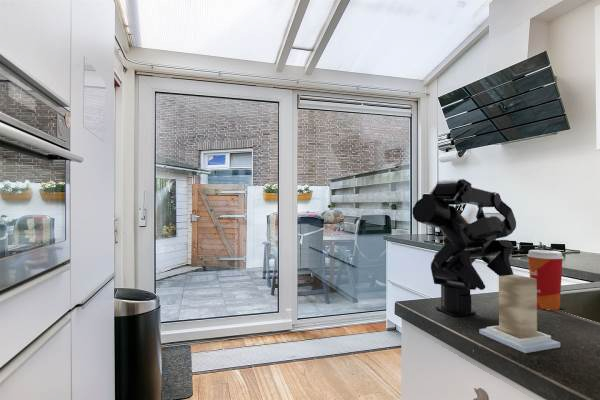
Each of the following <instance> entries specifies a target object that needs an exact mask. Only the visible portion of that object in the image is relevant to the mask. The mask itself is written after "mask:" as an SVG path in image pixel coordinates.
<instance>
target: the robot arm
mask: <svg viewBox="0 0 600 400" xmlns="http://www.w3.org/2000/svg"><path fill="white" fill-rule="evenodd" d="M461 204H469V205H473V206H476V207H477V208H478V209H477V212H476V215H475V218H476V220H475V221H473V222H471V223H470V222H467V221H466V219H465V218H464V217H463V216H462V214H460V212H459V211H458V210H457V208H456V207H455V206H456V205H459V206H460V205H461ZM454 205H455V206H454ZM483 208H494V209H495V211H497V212H484V210H483ZM411 211H412V217H413V219H414V220H415V221H416V222H418V223H420V224H424V225H426V226H429V227H432V228H435V229H437V228H438V229H439V230H440V231H441V233H442V234H443V236H444V237H445V238H443V239H442V241H443V244H442V246H441V247H440V248H439V250H438V251H437V252H435V254H434V256H433V260H432V261H431V264H430V272H431V276H432V279H433V283H434V285H439V286H440V295H441V296H440V299H441V300H440V305H439V306H438V305H437V306H435V309H436V310H437V311H441V312H442V313H445V314H448V315H449V316H452V317H459V316H468V315H469V316H470V315H476V314H477V311H475V310H473V309H472V295H471V290H473V291H475V290H477V289H478V290H480V291H483V290H484V289H486V285H485V283H484V281H483V280H482V277H481V276H480V275H479V273H478V271H477V270H476V268H475V267H474V265H473V263H474V262H475V261H476V260H477V259H478V258H480V259H481V260H482V262H484V263H485V264H487V265H486V267H487V268H488V269H490V270H491V271H492V272H493V273H495V274H496V275H497V276H498V277H499V276H506V275H515V274H514V271H513V270H512V269H513V268H512V266H511V262H510V255H511V254H512V253H513V250H514V249H515V246H514V245H513V243H511V242H510V240H509V239H503V238H507V237H509V236H510V235H511V234H512V233H513V232H514V231H515V230H516V228H517V220H516V217H515V214H514V212H513V209H512V207H510V206H509V205H507V204H506V203H505V202H504V201H503V200H502V198H501V196H500V193H498V192H496V191H495V192H494V191H488V190H484V189H479V188H476V187H473V186H472V183H471V182H470V181H468V180H467V179H464V178H461V179H445V180H443V179H442V180H438V181H437V182H436V185H435V186H434V187H433V188H432V189H431V191H430V193H429V192H426V193H422V197H421V198H419V200H417V201H416V202H415V204H414V206H413V207H412V210H411ZM501 238H502V239H501Z"/></svg>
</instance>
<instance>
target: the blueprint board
mask: <svg viewBox="0 0 600 400" xmlns="http://www.w3.org/2000/svg"><path fill="white" fill-rule="evenodd" d="M478 331H479V333H478V334H480V335H483V336H485V337H487V338H489V339H492V340H494V341H496V342H499V343H500V344H502V345H505V346H507V347H510V348H513V349H514V350H517V351H519V352H521V353H524V354H528V353H533V352H535V353H536V352H541V351H544V350H551V349H557V348H558V349H559V348H561V342H559V341H557V340H554V339H552V335H549V334H546V333H544V332H541V331H538V330H537V337H531V338H524V339H518V338H516V337H513V336H511V335H508V334H506V333H503V332H501V331H499V324H498V325H491V326H486V327H484V328H479V329H478Z"/></svg>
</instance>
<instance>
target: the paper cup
mask: <svg viewBox="0 0 600 400" xmlns="http://www.w3.org/2000/svg"><path fill="white" fill-rule="evenodd" d="M526 256H527V258H528V270H529V277H530V278H535V279H537V309H538V308H539V309H538V310H542V309H550V310H553V311H559V310H560V304H561V291H562V290H561V288H562V275H563V274H562V272H563V259H565V257H564V256H563V253H562V252H561V251H557V250H548V249H547V250H546V249H530V250H528V254H527V255H526ZM553 311H552V312H553Z"/></svg>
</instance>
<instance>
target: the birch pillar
mask: <svg viewBox="0 0 600 400" xmlns="http://www.w3.org/2000/svg"><path fill="white" fill-rule="evenodd" d="M498 325H499V331H501V332H503V333H506V334H508V335H511V336H513V337H516V338H518V339H524V338H531V337H537V331H538V308H537V279H535V278H530V276H524V275H518V274H514V275H506V276H499V275H498Z"/></svg>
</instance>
